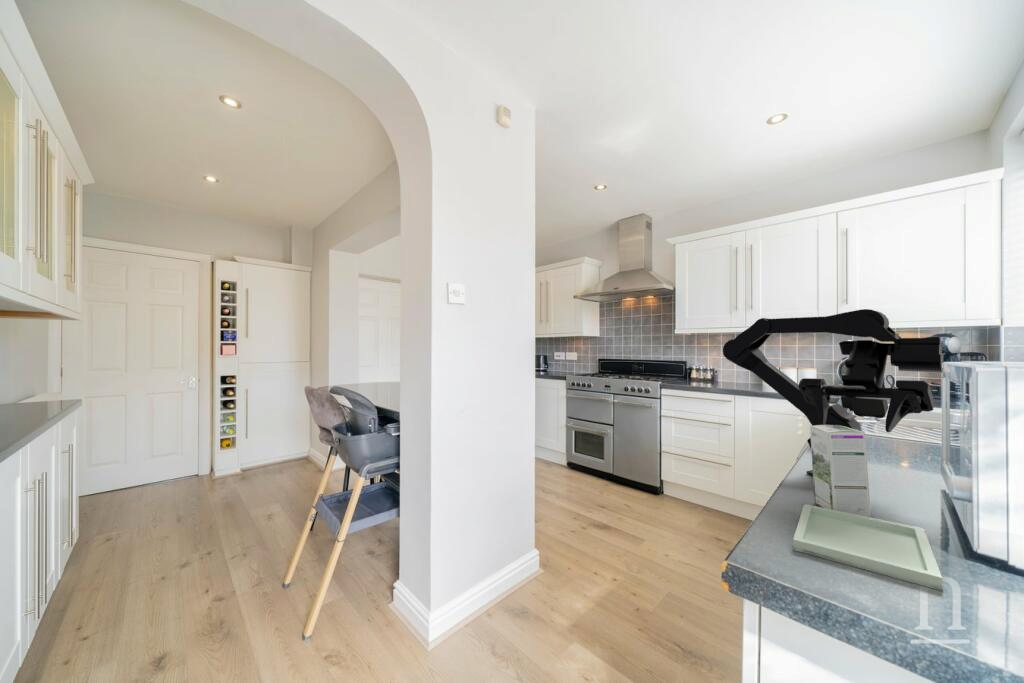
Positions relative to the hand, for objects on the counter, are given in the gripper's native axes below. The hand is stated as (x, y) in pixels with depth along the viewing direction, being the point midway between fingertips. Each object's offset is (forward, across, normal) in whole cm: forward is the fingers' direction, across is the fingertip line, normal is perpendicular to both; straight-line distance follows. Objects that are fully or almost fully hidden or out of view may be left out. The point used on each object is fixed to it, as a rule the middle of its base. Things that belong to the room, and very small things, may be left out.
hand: (853, 427), depth 70 cm
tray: (+24, -5, +4) cm, 24 cm away
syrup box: (+15, +1, -4) cm, 16 cm away
